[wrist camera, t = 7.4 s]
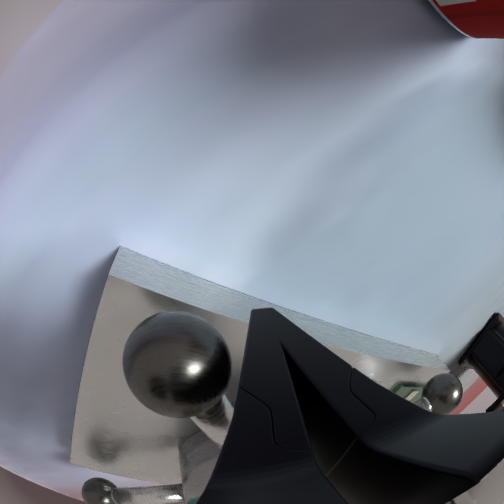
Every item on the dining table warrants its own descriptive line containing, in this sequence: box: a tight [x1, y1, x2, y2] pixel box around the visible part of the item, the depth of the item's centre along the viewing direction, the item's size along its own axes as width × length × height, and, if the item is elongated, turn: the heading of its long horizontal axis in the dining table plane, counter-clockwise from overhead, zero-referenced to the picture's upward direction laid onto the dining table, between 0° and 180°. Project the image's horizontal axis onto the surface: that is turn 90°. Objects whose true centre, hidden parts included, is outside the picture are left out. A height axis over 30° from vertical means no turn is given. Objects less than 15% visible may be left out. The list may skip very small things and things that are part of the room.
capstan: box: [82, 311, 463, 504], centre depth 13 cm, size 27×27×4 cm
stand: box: [70, 246, 450, 484], centre depth 16 cm, size 24×18×2 cm
